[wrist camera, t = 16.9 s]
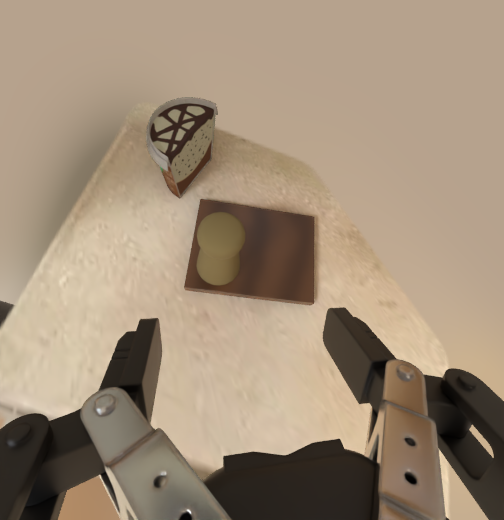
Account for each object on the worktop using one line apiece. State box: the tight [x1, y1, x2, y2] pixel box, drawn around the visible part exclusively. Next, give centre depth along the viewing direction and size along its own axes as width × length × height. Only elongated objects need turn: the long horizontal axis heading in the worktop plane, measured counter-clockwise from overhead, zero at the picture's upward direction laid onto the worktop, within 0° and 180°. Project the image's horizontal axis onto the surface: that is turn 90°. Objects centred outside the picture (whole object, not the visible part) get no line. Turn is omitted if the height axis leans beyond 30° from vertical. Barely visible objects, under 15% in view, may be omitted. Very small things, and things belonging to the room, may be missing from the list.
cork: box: [196, 212, 245, 285], centre depth 33 cm, size 6×6×11 cm
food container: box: [146, 97, 218, 198], centre depth 40 cm, size 12×6×10 cm, turn 151°
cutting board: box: [184, 199, 314, 305], centre depth 41 cm, size 18×14×2 cm
